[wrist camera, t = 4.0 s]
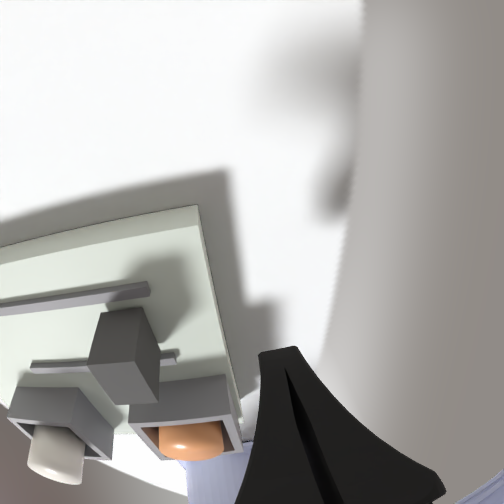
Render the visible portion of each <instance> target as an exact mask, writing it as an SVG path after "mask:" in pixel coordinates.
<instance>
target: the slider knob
mask: <svg viewBox="0 0 504 504" xmlns="http://www.w3.org/2000/svg"><path fill="white" fill-rule="evenodd" d="M160 357H161V350H160V347H159V345H158V343H157V341H156V338H155V336H154V334H153V331H152V329H151V326H150V324H149V322H148V319H147V317H146V314H145V312H144V309H143V307H137V308H130V309H123V310H116V311H108V312H101V314H100V317H99V320H98V324H97V327H96V331H95V334H94V338H93V341H92V345H91V349H90V353H89V357H88V360H87V364H86V365H87V367H88V368H89V370H90V371H91V373H92V374H93V376H94V377H95V378H96V380H97V381H98V383H99V384H100V385H101V387H102V388H103V389H104V391H105V392H106V394H107V395H108V396H109V397H110V399H111V400H112V401H113V403H114V404H115V405H133V404H149V403H159V377H160Z"/></svg>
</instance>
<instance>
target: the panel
mask: <svg viewBox="0 0 504 504" xmlns="http://www.w3.org/2000/svg"><path fill="white" fill-rule="evenodd" d="M137 307H143V309H144V312H145V314H146V317H147V319H148V322H149V324H150V326H151V329H152V331H153V334H154V336H155V338H156V341H157V343H158V345H159V347H160V350H161V357H160V377H159V403H149V404H133V405H115V404H114V403H113V401H112V400H111V399H110V397H109V396H108V395H107V394H106V392H105V391H104V389H103V388H102V387H101V385H100V384H99V383H98V381H97V380H96V378H95V377H94V376H93V374H92V373H91V371H90V370H89V368H88V367H87V365H86V364H87V360H88V357H89V353H90V349H91V345H92V341H93V338H94V334H95V331H96V327H97V324H98V320H99V317H100V314H101V312H108V311H116V310H123V309H130V308H137ZM0 399H1V400H2V401H3V402H4V403H5V404H6V405H7V406H8V407H9V410H8V414H7V418H8V419H9V420H10V421H11V422H12V423H13V424H14V425H15V426H16V427H17V428H19V429H20V430H21V431H22V432H23V433H24V434H25V435H27V436H28V437H29V438H30V439H31V440H32V437H33V433H34V428H35V424H36V425H46V426H59V427H66V428H69V429H71V430H72V431H73V432H74V433H75V434H76V435H77V436H78V437H79V438H81V439H82V440H83V441H84V442H85V443H86V444H85V452H84V459H95V460H112V451H113V438H114V434H137V435H138V436H139V437H140V438H141V439H142V440H143V441H144V443H145V444H146V445H147V446H148V447H149V448H150V449H151V450H152V451H153V452H154V453H155V454H156V455H157V456H158V458H159V459H160V460H175V459H172V458H169V457H167V456H165V455H163V454H162V453H161V452H160V451H159V426H173V425H184V424H194V423H203V422H211V421H219V420H220V422H221V430H222V438H223V445H224V451H223V452H222V453H221V454H220V455H227V454H234V453H241V452H244V449H243V444H242V438H241V432H240V426H239V424H243V423H244V420H243V414H242V408H241V403H240V398H239V394H238V390H237V386H236V382H235V378H234V374H233V370H232V365H231V361H230V357H229V353H228V349H227V344H226V340H225V336H224V331H223V327H222V322H221V318H220V313H219V309H218V304H217V300H216V295H215V290H214V286H213V281H212V276H211V271H210V266H209V261H208V256H207V251H206V246H205V241H204V236H203V231H202V226H201V220H200V215H199V210H198V205H192V206H187V207H181V208H175V209H170V210H164V211H159V212H154V213H149V214H143V215H138V216H133V217H128V218H123V219H119V220H114V221H109V222H104V223H100V224H95V225H91V226H86V227H82V228H77V229H73V230H68V231H64V232H60V233H56V234H52V235H48V236H43V237H39V238H35V239H31V240H28V241H24V242H20V243H16V244H12V245H8V246H5V247H1V248H0Z"/></svg>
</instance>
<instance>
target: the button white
mask: <svg viewBox="0 0 504 504" xmlns="http://www.w3.org/2000/svg"><path fill="white" fill-rule="evenodd" d="M85 444H86V443H85V442H84V441H83V440H82V439H81V438H79V437H78V436H77V435H76V434H75V433H74V432H73V431H72V430H71V429H69V428H66V427H59V426H46V425H36V424H35V428H34V433H33V437H32V442H31V447H30V452H29V457H28V462H27V465H28V466H29V467H30V468H31V469H32V470H33V471H35V472H37V473H38V474H40V475H42V476H45V477H47V478H49V479H52V480H55V481H58V482H62V483H66V484H75V485H77V484H81V482H82V471H83V461H84V452H85Z"/></svg>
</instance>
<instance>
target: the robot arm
mask: <svg viewBox="0 0 504 504" xmlns="http://www.w3.org/2000/svg"><path fill="white" fill-rule="evenodd" d="M258 358H259V366H260V373H261V387H260V401H259V411H258V418H257V424H256V431H255V436H254V441H253V442H247V443H242V444H243V449H244V452H241V453H234V454H227V455H219V456H217V457H214V458H211V459H207V460H201V461H182V460H177V461H178V462H179V463H180V465H181V466H182V467H183V468H184V469H185V470H186V479H187V491H188V501H189V504H433V503H432V502H433V501H434V500H436V499H438V498H439V497H441V496H443V495H444V494H445V493H446V489H445V487H444V485H443V483H442V481H441V479H440V478H439V477H438V475H437V474H436V473H435V472H434V471H433V470H431V469H429V468H427V467H425V466H423V465H421V464H419V463H417V462H415V461H413V460H412V459H410V458H408V457H407V456H405V455H404V454H402V453H400V452H399V451H397V450H396V449H394V448H393V447H391V446H390V445H389V444H387V443H386V442H384V441H383V440H381V439H380V438H379V437H377V436H376V435H375V434H373V433H372V432H371V431H370V430H369V429H367V428H366V427H365V426H364V425H363V424H362V423H360V422H359V421H358V420H357V419H356V418H355V417H354V416H353V415H352V414H351V413H349V412H348V411H347V410H346V408H345V407H344V406H343V405H342V404H341V403H340V402H339V401H338V400H337V399H336V398H335V397H334V396H333V395H332V394H331V392H330V391H329V390H328V389H327V388H326V386H325V385H324V384H323V383H322V382H321V381H320V379H319V378H318V377H317V375H316V374H315V373H314V371H313V370H312V369H311V367H310V366H309V364H308V363H307V362H306V360H305V359H304V357H303V355H302V354H301V352H300V351H299V349H298V347H296V346H290V347H286V348H281V349H276V350H271V351H265V352H261V353H260V354H259V355H258ZM454 504H504V469H503V470H501V471H500V472H499V473H497V474H496V476H495V477H493V478H492V479H491V480H489V481H488V482H486V483H485V484H484V485H482V486H481V487H479V488H478V489H476V490H475V491H473V492H472V493H470V494H469V495H467V496H465V497H464V498H462V499H461V500H459V501H458V502H456V503H454Z"/></svg>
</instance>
